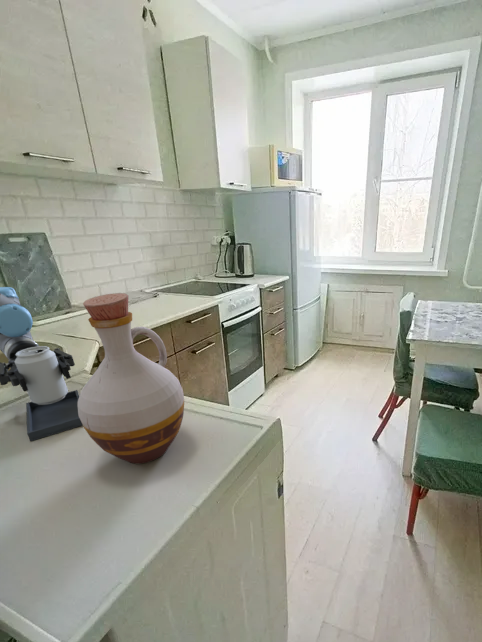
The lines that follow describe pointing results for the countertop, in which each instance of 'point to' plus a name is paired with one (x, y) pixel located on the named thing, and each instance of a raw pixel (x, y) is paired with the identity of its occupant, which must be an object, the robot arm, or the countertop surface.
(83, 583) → the countertop surface
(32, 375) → the can
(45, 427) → the tray
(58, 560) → the countertop surface
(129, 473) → the countertop surface
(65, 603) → the countertop surface
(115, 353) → the jug
